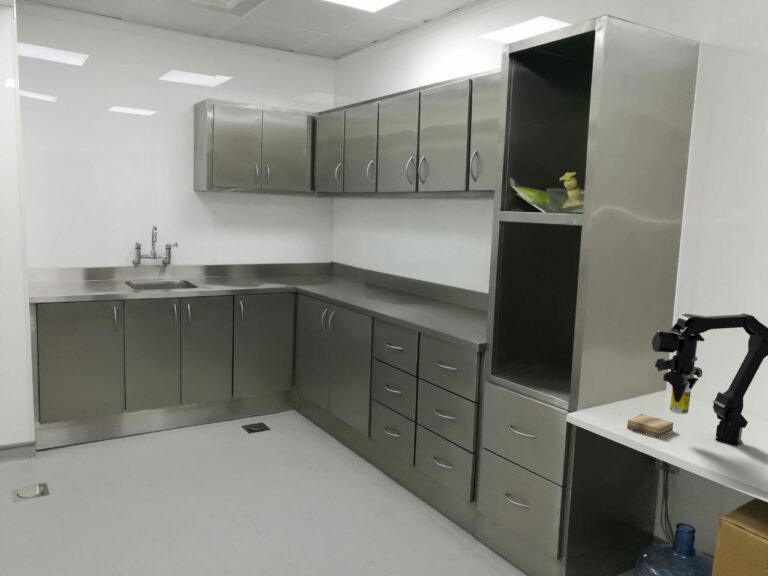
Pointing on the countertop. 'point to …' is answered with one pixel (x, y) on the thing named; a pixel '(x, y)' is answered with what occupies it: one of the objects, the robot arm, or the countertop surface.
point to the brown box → (650, 425)
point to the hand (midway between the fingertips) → (680, 400)
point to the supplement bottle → (681, 402)
